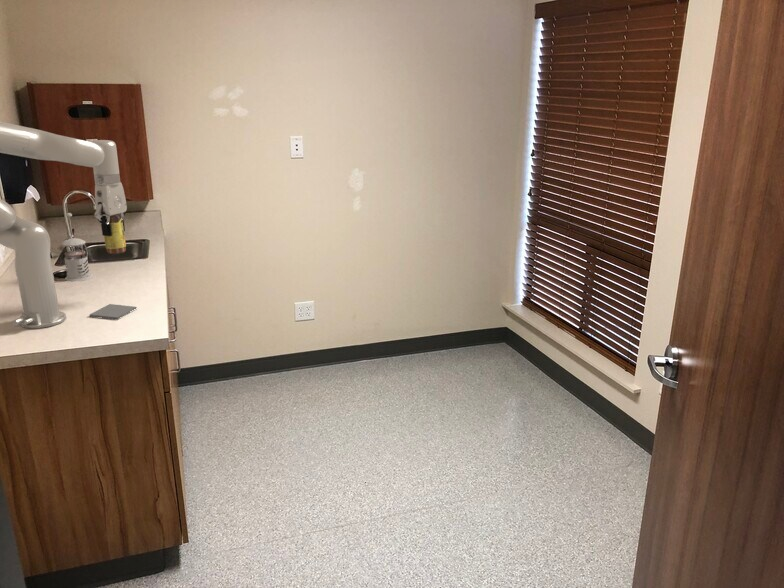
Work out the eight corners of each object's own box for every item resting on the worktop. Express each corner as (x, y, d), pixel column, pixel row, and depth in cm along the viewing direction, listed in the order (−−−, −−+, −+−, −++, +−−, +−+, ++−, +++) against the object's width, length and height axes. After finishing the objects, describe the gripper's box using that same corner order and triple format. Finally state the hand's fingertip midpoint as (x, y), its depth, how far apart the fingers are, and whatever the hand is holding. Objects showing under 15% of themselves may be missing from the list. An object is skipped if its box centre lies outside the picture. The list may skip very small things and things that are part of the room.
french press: (59, 281, 223) (47, 215, 215) (76, 271, 234) (66, 209, 226) (84, 281, 223) (74, 216, 215) (100, 272, 234) (91, 209, 226)
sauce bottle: (129, 252, 202) (122, 193, 195) (111, 255, 197) (103, 195, 191) (121, 248, 206) (114, 191, 199) (102, 251, 201) (94, 193, 195)
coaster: (117, 319, 189) (117, 317, 188) (89, 316, 190) (89, 314, 190) (136, 309, 198) (136, 306, 197) (110, 306, 200) (109, 303, 199)
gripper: (100, 183, 185) (107, 240, 191) (133, 176, 201) (139, 228, 207) (79, 182, 186) (86, 238, 192) (113, 175, 202) (119, 227, 208)
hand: (113, 232), depth 199 cm, fingers closed on sauce bottle, 6 cm apart
